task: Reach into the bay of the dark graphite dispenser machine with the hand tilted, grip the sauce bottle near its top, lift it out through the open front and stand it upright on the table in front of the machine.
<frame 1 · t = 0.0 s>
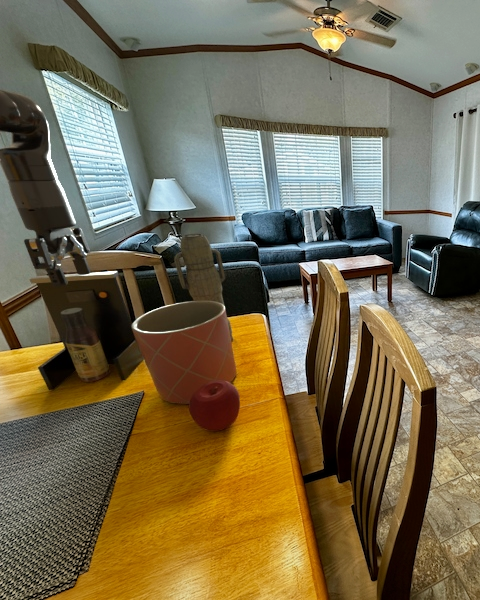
hand: (73, 279, 72), 30 cm above the table, tool pointing down, fingers open, 8 cm apart
sauce bottle: (97, 377, 89), on the table
planter: (200, 384, 86), on the table
apple: (221, 424, 73), on the table
dispenser: (97, 376, 89), on the table
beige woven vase: (219, 342, 107), on the table
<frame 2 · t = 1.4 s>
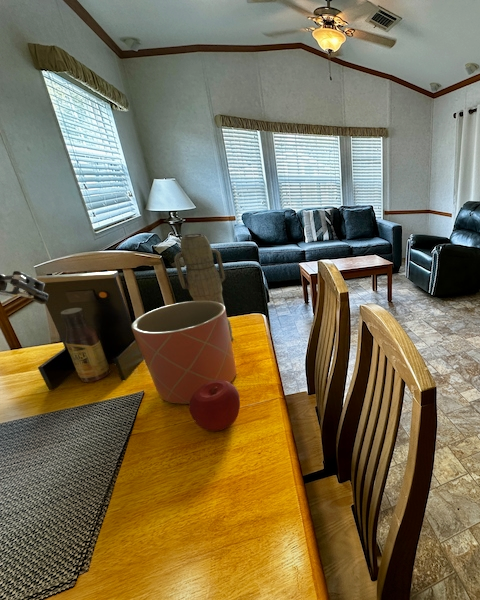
hand: (21, 302, 69), 27 cm above the table, tool tilted 45°, fingers open, 8 cm apart
nothing on the table moved.
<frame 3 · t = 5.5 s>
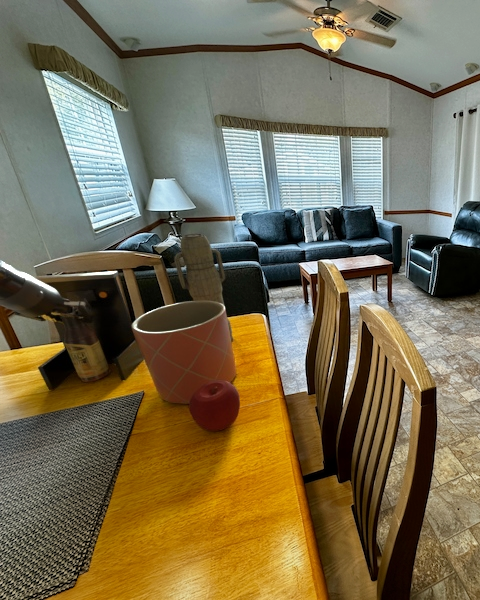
hand: (80, 320, 85), 16 cm above the table, tool tilted 45°, fingers closed on sauce bottle, 4 cm apart
sauce bottle: (97, 377, 89), on the table, touching gripper
everything else where it was.
when the fingers open (16 cm above the table, at t = 13.3 s): sauce bottle stays where it is, on the table.
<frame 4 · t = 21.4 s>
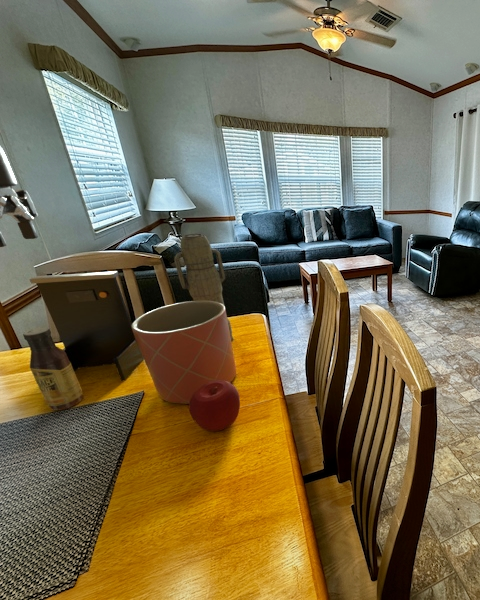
hand: (16, 242, 70), 38 cm above the table, tool pointing down, fingers open, 8 cm apart
sauce bottle: (68, 404, 79), on the table
everything else where it was.
at the end: sauce bottle inside the target area (0.4 cm from its centre), on the table; sauce bottle tilted 0°; the gripper is holding nothing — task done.
